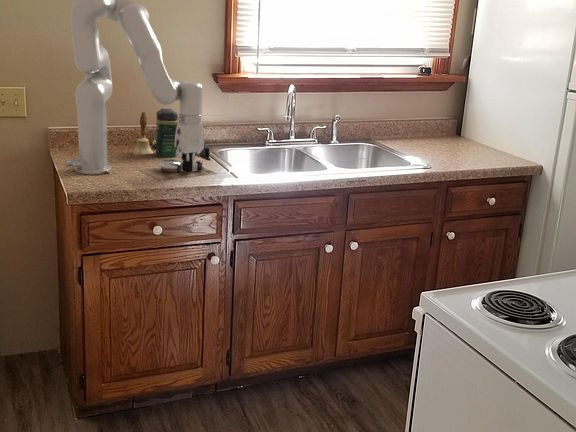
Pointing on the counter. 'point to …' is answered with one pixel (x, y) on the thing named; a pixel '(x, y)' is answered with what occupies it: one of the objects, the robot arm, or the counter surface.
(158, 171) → the level board
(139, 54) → the robot arm
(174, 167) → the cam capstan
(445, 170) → the counter surface
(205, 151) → the dark green box
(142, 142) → the hand bell
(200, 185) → the counter surface
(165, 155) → the coffee jar
